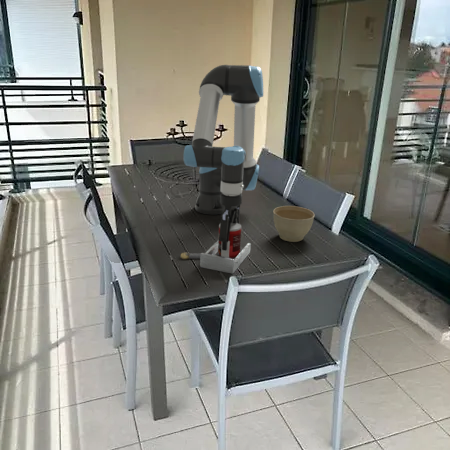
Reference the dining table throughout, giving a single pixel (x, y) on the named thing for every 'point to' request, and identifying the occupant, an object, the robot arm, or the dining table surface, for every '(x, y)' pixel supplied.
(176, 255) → the dining table surface
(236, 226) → the canned food
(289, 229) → the planter bowl
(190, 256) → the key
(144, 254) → the dining table surface
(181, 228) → the dining table surface
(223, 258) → the channel
